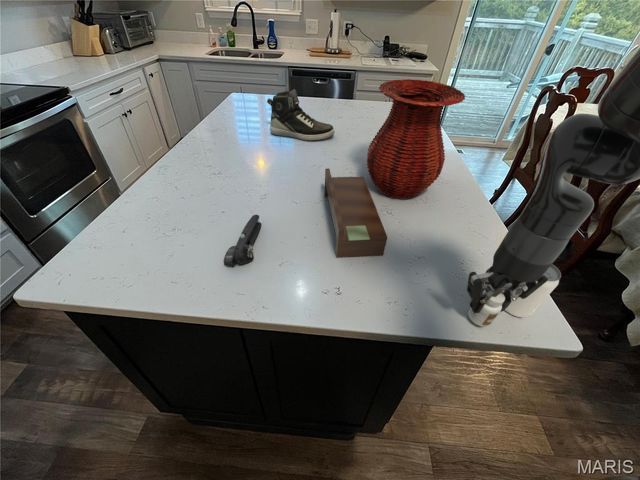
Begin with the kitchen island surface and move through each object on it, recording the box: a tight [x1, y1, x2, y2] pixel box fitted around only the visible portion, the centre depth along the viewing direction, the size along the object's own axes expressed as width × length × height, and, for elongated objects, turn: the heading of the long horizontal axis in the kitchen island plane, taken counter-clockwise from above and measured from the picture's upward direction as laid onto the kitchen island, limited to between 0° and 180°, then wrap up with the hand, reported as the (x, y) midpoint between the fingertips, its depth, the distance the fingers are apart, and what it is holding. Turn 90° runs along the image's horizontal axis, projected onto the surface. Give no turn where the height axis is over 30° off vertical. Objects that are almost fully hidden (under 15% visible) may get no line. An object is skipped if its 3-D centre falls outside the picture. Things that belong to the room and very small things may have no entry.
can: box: [502, 263, 562, 318], centre depth 60 cm, size 6×6×12 cm
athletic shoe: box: [266, 89, 335, 142], centre depth 120 cm, size 10×28×18 cm, turn 79°
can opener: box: [223, 214, 262, 267], centre depth 74 cm, size 18×7×6 cm, turn 171°
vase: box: [366, 78, 466, 199], centre depth 88 cm, size 23×24×30 cm
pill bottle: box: [468, 288, 505, 328], centre depth 58 cm, size 4×4×8 cm
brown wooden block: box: [323, 168, 388, 259], centre depth 81 cm, size 28×12×9 cm, turn 6°
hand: (486, 308), depth 58 cm, fingers closed on pill bottle, 4 cm apart
